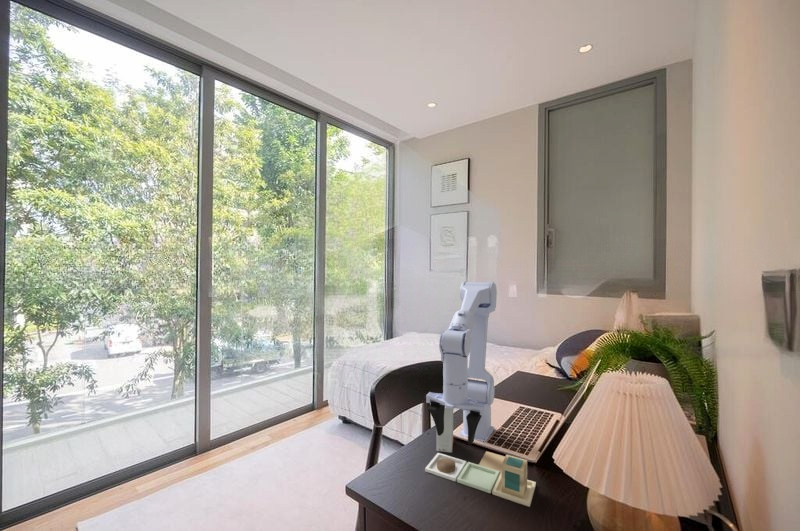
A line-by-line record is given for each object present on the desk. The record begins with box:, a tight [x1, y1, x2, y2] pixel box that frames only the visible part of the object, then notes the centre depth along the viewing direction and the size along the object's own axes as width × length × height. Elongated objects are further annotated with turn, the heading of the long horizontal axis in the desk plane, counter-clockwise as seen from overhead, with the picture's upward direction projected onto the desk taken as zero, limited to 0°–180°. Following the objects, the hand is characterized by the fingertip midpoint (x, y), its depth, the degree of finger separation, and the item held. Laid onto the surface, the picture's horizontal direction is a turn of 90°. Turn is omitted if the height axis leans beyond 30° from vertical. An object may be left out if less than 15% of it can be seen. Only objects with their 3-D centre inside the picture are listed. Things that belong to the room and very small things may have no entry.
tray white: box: [424, 452, 468, 482], centre depth 83 cm, size 8×8×1 cm
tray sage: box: [456, 461, 500, 494], centre depth 79 cm, size 8×8×1 cm
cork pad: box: [478, 450, 506, 474], centre depth 85 cm, size 7×7×1 cm
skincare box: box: [435, 407, 454, 453], centre depth 93 cm, size 6×4×12 cm
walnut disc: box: [437, 458, 455, 473], centre depth 83 cm, size 4×4×1 cm
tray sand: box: [491, 472, 537, 508], centre depth 75 cm, size 8×8×1 cm
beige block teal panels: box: [501, 454, 528, 499], centre depth 75 cm, size 5×4×6 cm
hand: (455, 437), depth 82 cm, fingers open, 7 cm apart
